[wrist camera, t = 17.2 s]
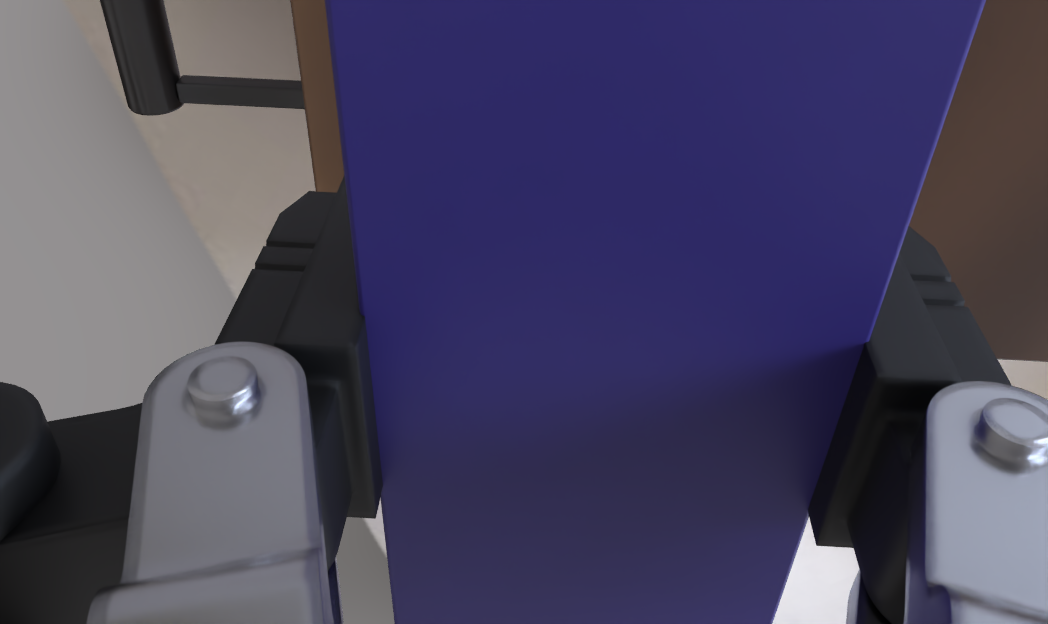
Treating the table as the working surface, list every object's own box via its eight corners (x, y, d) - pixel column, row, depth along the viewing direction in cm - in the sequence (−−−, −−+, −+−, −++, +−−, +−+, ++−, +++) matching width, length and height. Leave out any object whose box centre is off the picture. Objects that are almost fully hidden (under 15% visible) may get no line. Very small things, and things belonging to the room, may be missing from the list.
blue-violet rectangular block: (434, 458, 14) (398, 668, 11) (399, -198, 8) (311, -104, 6) (717, 475, 14) (752, 689, 11) (872, -180, 8) (1016, -76, 6)
